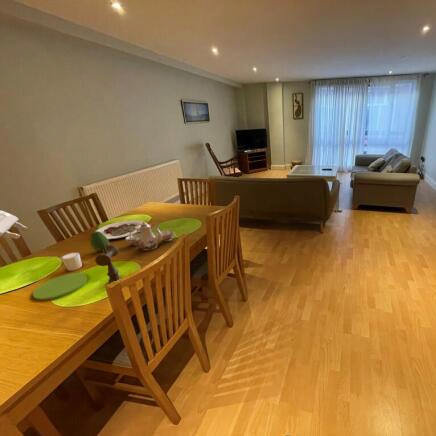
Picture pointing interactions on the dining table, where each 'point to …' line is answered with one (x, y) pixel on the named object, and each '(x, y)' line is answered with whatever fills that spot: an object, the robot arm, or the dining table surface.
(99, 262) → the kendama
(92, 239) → the avocado
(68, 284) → the placemat
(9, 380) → the dining table surface
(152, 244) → the chinaware
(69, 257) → the shot glass
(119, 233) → the plated food
